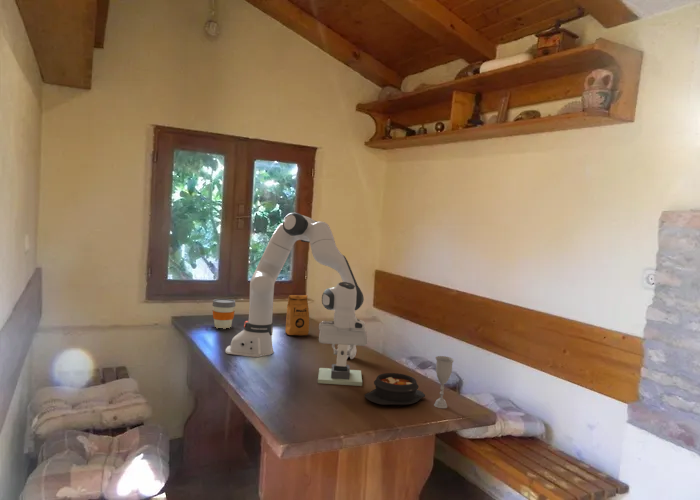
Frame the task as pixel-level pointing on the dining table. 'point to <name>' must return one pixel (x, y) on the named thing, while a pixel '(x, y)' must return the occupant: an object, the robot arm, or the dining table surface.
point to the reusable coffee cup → (223, 312)
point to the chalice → (443, 377)
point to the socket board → (340, 375)
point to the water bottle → (353, 352)
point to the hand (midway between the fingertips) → (342, 354)
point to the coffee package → (297, 315)
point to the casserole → (395, 390)
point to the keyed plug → (342, 354)
